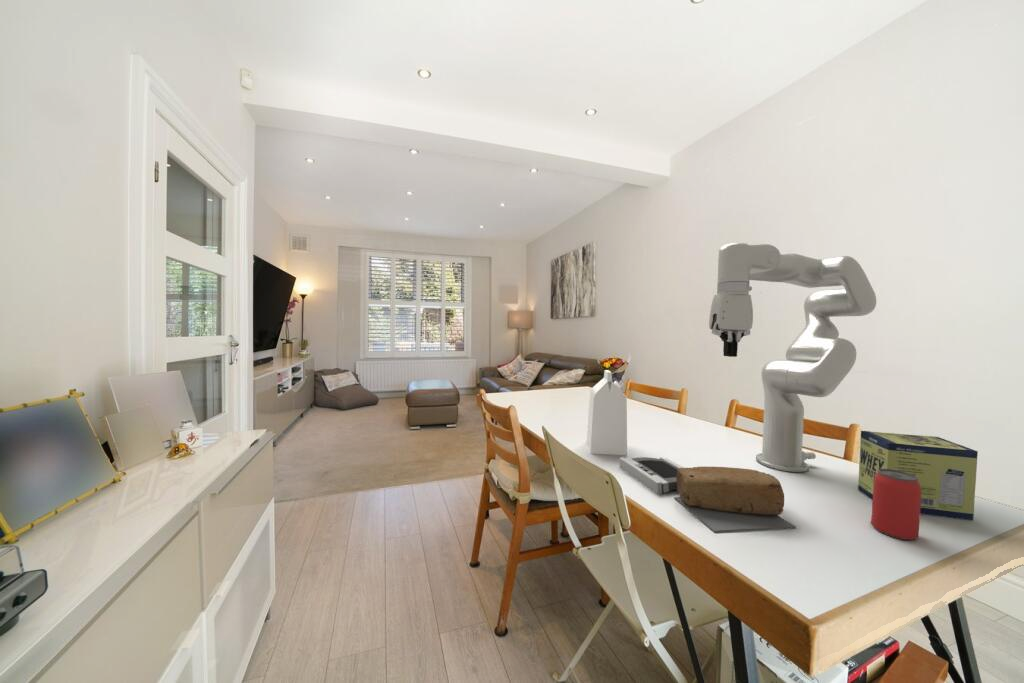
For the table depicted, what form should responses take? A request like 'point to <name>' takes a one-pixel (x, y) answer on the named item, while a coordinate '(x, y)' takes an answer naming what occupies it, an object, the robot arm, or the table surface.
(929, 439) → the protein box
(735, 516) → the mat
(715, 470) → the block
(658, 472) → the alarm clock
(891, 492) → the beer can
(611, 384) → the milk
